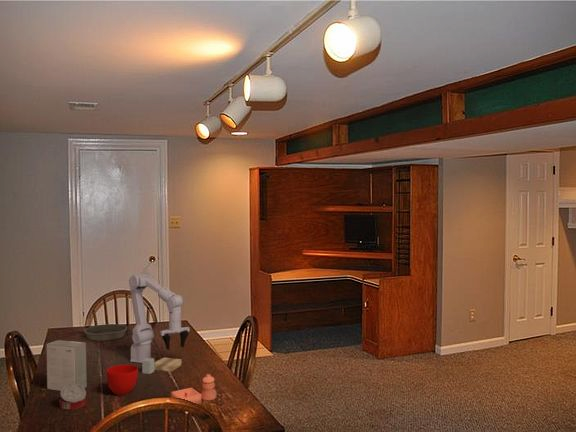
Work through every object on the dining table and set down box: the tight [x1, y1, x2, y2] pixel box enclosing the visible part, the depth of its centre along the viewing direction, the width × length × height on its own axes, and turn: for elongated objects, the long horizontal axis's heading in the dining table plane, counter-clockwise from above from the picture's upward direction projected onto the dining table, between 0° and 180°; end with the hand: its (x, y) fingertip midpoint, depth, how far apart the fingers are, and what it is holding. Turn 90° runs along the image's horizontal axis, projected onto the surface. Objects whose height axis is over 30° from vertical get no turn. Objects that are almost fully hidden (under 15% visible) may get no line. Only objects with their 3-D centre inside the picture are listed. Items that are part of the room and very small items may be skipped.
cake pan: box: [83, 323, 128, 341], centre depth 330 cm, size 25×25×4 cm
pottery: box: [170, 373, 217, 405], centre depth 228 cm, size 18×10×10 cm, turn 125°
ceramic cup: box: [105, 364, 139, 396], centre depth 238 cm, size 13×17×10 cm
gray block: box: [141, 358, 155, 375], centre depth 264 cm, size 4×4×6 cm
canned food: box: [59, 381, 87, 411], centre depth 223 cm, size 11×10×10 cm
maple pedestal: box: [154, 357, 182, 372], centre depth 271 cm, size 10×10×3 cm
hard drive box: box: [45, 339, 88, 392], centre depth 241 cm, size 16×8×20 cm, turn 71°
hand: (175, 348), depth 269 cm, fingers open, 7 cm apart
